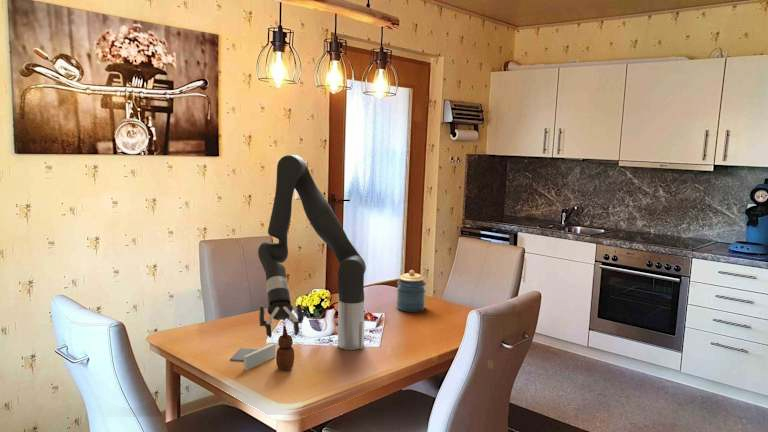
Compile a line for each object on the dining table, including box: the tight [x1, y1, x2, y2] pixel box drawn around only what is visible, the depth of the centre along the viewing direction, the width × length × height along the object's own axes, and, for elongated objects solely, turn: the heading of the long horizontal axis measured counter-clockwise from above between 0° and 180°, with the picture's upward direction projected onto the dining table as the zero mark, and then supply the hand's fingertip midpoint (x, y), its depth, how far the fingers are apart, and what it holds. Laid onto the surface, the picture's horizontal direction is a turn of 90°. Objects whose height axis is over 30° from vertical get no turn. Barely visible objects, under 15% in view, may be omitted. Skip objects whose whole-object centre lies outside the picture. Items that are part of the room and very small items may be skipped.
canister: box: [396, 269, 427, 313], centre depth 253 cm, size 13×13×18 cm
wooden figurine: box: [275, 322, 295, 372], centre depth 183 cm, size 7×6×15 cm
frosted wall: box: [243, 343, 276, 371], centre depth 188 cm, size 14×1×4 cm, turn 150°
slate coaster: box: [229, 347, 260, 362], centre depth 194 cm, size 10×10×1 cm
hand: (283, 335), depth 185 cm, fingers open, 8 cm apart
